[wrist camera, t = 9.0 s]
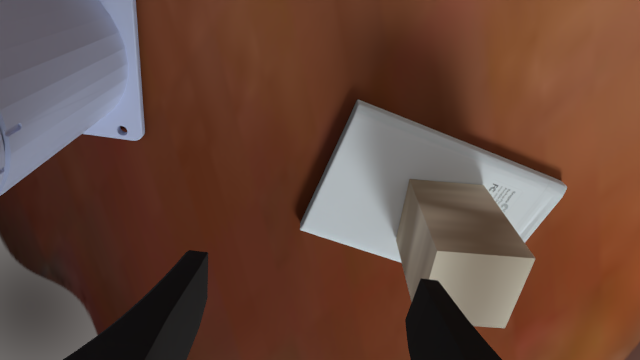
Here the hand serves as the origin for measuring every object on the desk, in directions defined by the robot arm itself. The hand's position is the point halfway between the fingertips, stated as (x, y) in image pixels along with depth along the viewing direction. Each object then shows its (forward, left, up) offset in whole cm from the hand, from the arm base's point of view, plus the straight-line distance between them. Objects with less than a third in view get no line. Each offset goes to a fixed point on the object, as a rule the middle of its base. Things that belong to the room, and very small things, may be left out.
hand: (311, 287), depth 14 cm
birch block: (+7, -2, -8) cm, 11 cm away
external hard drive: (+7, -2, -10) cm, 12 cm away
